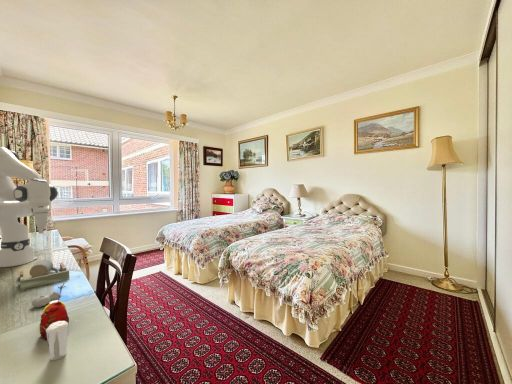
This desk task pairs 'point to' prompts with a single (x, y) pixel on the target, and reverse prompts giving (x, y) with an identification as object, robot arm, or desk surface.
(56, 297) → the smooth white sculpture
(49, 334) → the white tooth model
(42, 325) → the red clay folk toy
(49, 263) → the ceramic mug
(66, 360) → the desk surface
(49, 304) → the watch
